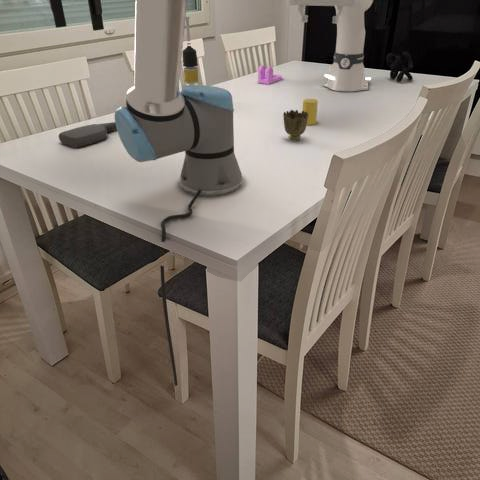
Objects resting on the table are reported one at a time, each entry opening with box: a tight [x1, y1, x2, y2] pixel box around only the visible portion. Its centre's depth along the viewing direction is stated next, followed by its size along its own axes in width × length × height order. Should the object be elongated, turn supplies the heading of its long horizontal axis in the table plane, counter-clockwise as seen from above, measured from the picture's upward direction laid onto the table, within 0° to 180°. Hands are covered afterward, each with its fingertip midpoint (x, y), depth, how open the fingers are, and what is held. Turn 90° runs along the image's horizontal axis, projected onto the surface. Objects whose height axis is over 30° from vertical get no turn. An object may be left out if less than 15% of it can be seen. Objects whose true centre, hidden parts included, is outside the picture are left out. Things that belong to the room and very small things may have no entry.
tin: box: [302, 98, 319, 126], centre depth 148 cm, size 5×5×8 cm
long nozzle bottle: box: [182, 16, 200, 85], centre depth 166 cm, size 6×6×30 cm
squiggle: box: [385, 51, 414, 83], centre depth 198 cm, size 11×10×15 cm
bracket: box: [257, 65, 283, 85], centre depth 202 cm, size 13×6×7 cm, turn 143°
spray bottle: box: [58, 121, 117, 148], centre depth 142 cm, size 3×11×24 cm
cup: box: [282, 109, 308, 142], centre depth 134 cm, size 8×7×8 cm
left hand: (79, 28), depth 109 cm, fingers open, 13 cm apart
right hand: (319, 22), depth 133 cm, fingers open, 8 cm apart
